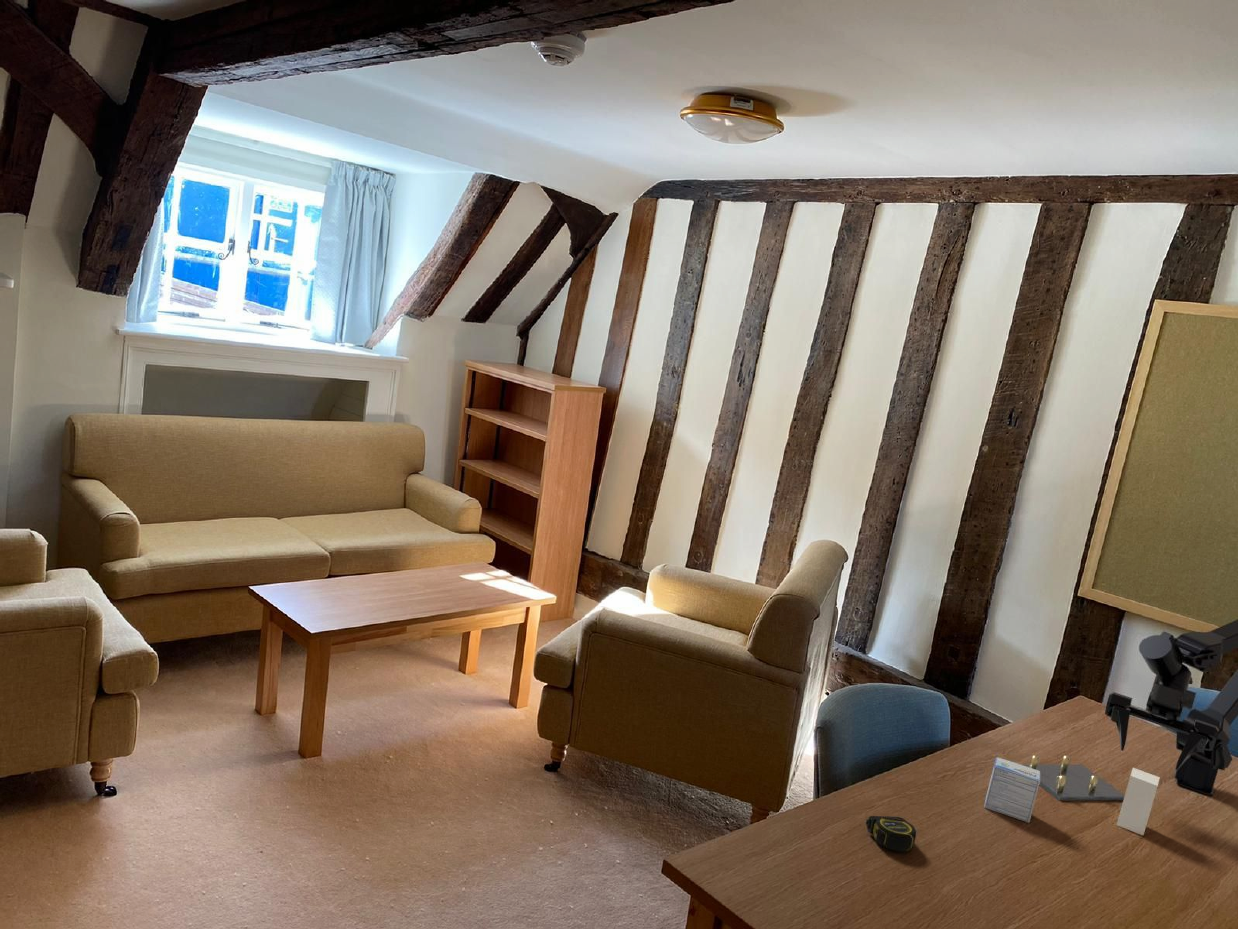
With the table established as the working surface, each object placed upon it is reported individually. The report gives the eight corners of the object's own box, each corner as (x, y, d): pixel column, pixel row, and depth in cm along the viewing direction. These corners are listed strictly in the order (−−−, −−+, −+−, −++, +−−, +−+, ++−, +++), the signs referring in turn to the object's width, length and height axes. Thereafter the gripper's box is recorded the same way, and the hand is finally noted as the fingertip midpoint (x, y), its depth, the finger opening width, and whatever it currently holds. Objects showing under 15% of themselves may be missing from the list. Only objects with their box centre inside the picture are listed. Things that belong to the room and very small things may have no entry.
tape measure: (900, 833, 162) (905, 813, 162) (919, 857, 156) (924, 837, 155) (863, 831, 161) (868, 811, 160) (881, 856, 154) (886, 835, 154)
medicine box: (1030, 813, 177) (1041, 770, 175) (1029, 824, 172) (1040, 780, 171) (985, 798, 180) (996, 756, 178) (983, 808, 176) (994, 765, 174)
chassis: (1081, 768, 200) (1085, 751, 199) (1125, 800, 188) (1130, 782, 188) (1017, 768, 195) (1022, 751, 194) (1059, 800, 183) (1064, 782, 183)
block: (1119, 816, 181) (1132, 767, 179) (1145, 826, 179) (1159, 777, 177) (1116, 825, 178) (1130, 775, 176) (1143, 835, 175) (1157, 785, 173)
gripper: (1121, 652, 187) (1098, 721, 180) (1231, 687, 177) (1212, 761, 170) (1115, 680, 195) (1094, 747, 188) (1221, 714, 185) (1202, 786, 178)
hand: (1149, 759), depth 181 cm, fingers open, 9 cm apart
